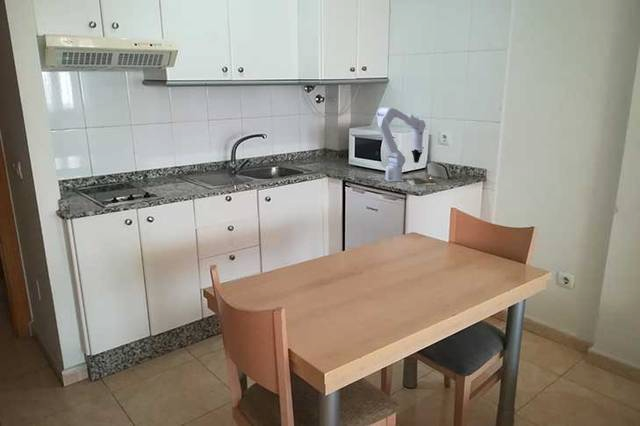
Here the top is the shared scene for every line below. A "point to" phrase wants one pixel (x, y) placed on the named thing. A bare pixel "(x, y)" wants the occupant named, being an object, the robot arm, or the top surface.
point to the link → (426, 181)
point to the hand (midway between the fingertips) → (416, 162)
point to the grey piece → (438, 170)
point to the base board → (420, 184)
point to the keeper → (417, 180)
